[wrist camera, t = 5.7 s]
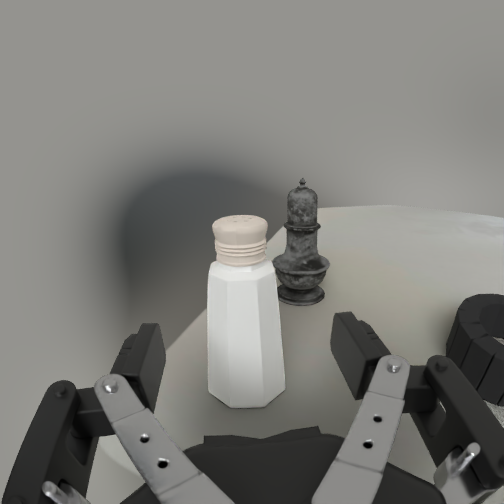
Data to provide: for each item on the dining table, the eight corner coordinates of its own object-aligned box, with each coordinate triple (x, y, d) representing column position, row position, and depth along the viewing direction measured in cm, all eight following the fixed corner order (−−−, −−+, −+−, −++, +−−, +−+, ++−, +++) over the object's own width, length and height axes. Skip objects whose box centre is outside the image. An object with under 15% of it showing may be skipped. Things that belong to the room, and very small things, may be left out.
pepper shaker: (226, 351, 22) (216, 207, 18) (295, 365, 20) (303, 211, 16) (192, 397, 17) (164, 229, 13) (273, 420, 15) (276, 237, 12)
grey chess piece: (283, 278, 34) (284, 174, 30) (332, 286, 32) (338, 177, 28) (263, 300, 29) (261, 179, 26) (319, 311, 27) (326, 182, 23)
